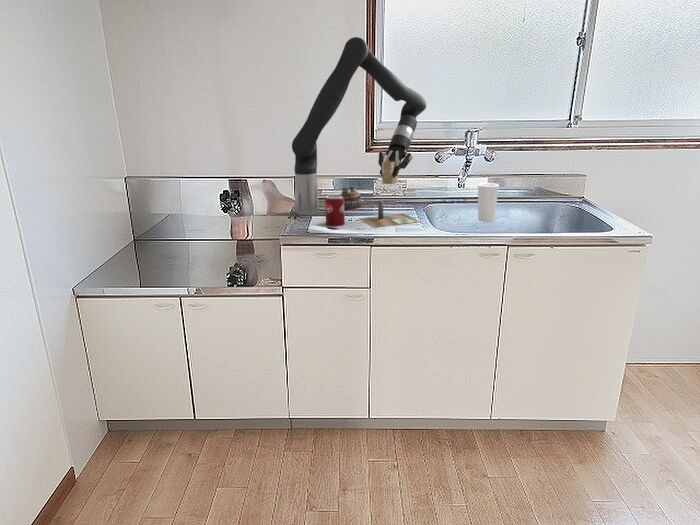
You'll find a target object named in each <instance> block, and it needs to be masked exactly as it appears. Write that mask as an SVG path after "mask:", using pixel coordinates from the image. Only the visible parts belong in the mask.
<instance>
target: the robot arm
mask: <svg viewBox="0 0 700 525" xmlns="http://www.w3.org/2000/svg"><path fill="white" fill-rule="evenodd" d="M359 67H360V68H362V70H364V71H365V72H366V73H368V75H369V76H370V77H371V78H372V79H374V81H375V82H376V83H377V84H378V86H380V88H381V89H382V90H383V91H384V92H385V93H386V95H388V96H389V97H390V98H392V100H393V101H395V102H400V101H404V102H405V103H404V104H403V105H402V108H401V111H400V116H399V121H398V124H397V126H396V128H395V130H394V132H393V134H392V136H391V137H392V138H391V140H390V142H389V146H388V148H387V150H386V151H385V152H382V151H379V152H378V160H377V161H378V166H379V167H380V169H379V174H380V176H381V177H382V162H385V161H396V167H394V170H393V173H392V176H393V177H394V178H395V177H396V176H397V175H398V176H399V171H401V169H403V170H405V169H406V168H407V167H408V165H409V164H410V162H412V159H413V156H412V154H411V152H409V149H410V146H411V144H412V141H413V138H414V135H415V134H414V133H415V132H416V129H417V125H418V121H417V118H418V116H419V115H420V114H422V113H423V112H424V111H425V110H426V109H427V101H426V98H425V97H424V96H423V95H421V94H420V93H419V92H417V91H416V90H414V89H412V88H410V87H408V86H407V85H405V84H404V82H403V81H402V80H400V79H399V77H397V75H396V74H394V73H393V72H392V71H391V70H390V69H388V67H386V66H385V65H384V64H383V63H381V61H380V60H379V59H378V58H377V57H376V56H375V55H374V53H373V52H372V51H371V49H370V48H369V47H368V43H367V42H366V41H365V40H364V39H363V38H361V37H358V36H355V37H354V36H353V37H351V38H349V39H348V40H347V41H346V42H345V44H344V46H343V49H342V53H341V54H340V56H339V59H338V62H337V63H336V66H335V68H334V69H333V71H332V72H331V73H330V75H329V76H328V78H326V81H325V83H324V84H323V85H322V87H321V89H320V91H319V93H318V95H317V96H316V99H315V100H314V103H313V104H312V106H311V108H310V111H309V113H308V116H307V118H306V120H305V122H304V124H303V125H302V127H301V128H300V130H299V131H298V133H297V134H296V136H295V137H294V138H293V140H292V143H291V150H292V152H293V154H294V155H295V157H294V160H295V162H294V182H295V183H294V185H295V190H294V191H293V192H294V205H295V208H294V209H295V213H296V214H297V215H299V216H312V215H316V214H318V213H319V195H318V190H319V189H318V174H317V168H318V148H317V147H318V146H317V144H318V143H317V141H318V139H319V136H320V135H321V134H322V133H321V132H322V131H323V129H324V128H325V126H326V125H328V123H329V122H330V120H331V119H332V118H333V116H334V115H335V114H336V112H337V111H338V108H339V107H340V105H341V103H342V101H343V99H344V97H345V95H346V93H347V91H348V88H349V85H350V83H351V80H352V78H353V76H354V75H355V73H356V71H357V70H358V69H359Z"/></svg>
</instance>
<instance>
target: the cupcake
mask: <svg viewBox="0 0 700 525" xmlns="http://www.w3.org/2000/svg"><path fill="white" fill-rule="evenodd" d="M339 195H341V196H343V197H344V212H346V211H348V210H355V209H360V208H362V206H363V205H362V203H363V200H364V199H363V198H362V197H361V193H360V192H358V190H357V189H356V188H355V187H353V186H349V187H348V188H347V187H342V190H341V193H340V194H339Z"/></svg>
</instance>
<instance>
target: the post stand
mask: <svg viewBox="0 0 700 525" xmlns="http://www.w3.org/2000/svg"><path fill="white" fill-rule="evenodd" d="M377 205H378V206H377V207H378V208H377V209H378V210H377V212H378V213H377V214H378V215H376V216H368V217H359V218H358V220H360V221H361V222H364V223H365V225H366V224H367V225H368V226H370V227H371V228H373V229H377V228H386V227H394V226H402V225H411V224H419V223H422V221H420V220H419V219H416V218H415V217H413V216H411V215H409V214H407V213H394V214H387V215H384V200H378V202H377Z"/></svg>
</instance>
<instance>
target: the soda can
mask: <svg viewBox="0 0 700 525" xmlns="http://www.w3.org/2000/svg"><path fill="white" fill-rule="evenodd" d="M324 207H325V208H324V210H325V226H326V229H328V230H332V231H337V230H340V228H338V227H341V226H344V225H345V224H346V221H345V220H346V219H345V216H346V215H345V213H346V212H345V211H344V197H343V196H341V195H340V194H332V195H327V196H325V198H324Z"/></svg>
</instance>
